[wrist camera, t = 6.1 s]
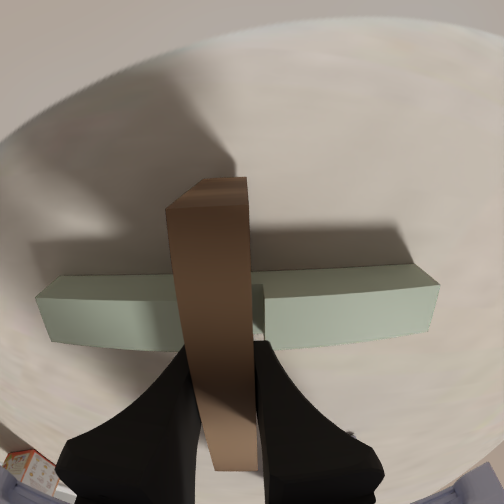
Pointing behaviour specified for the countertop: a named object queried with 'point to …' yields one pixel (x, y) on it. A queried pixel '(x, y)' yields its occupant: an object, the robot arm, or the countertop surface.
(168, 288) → the slotted rail
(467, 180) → the countertop surface
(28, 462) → the cracker box
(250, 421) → the walnut plate
